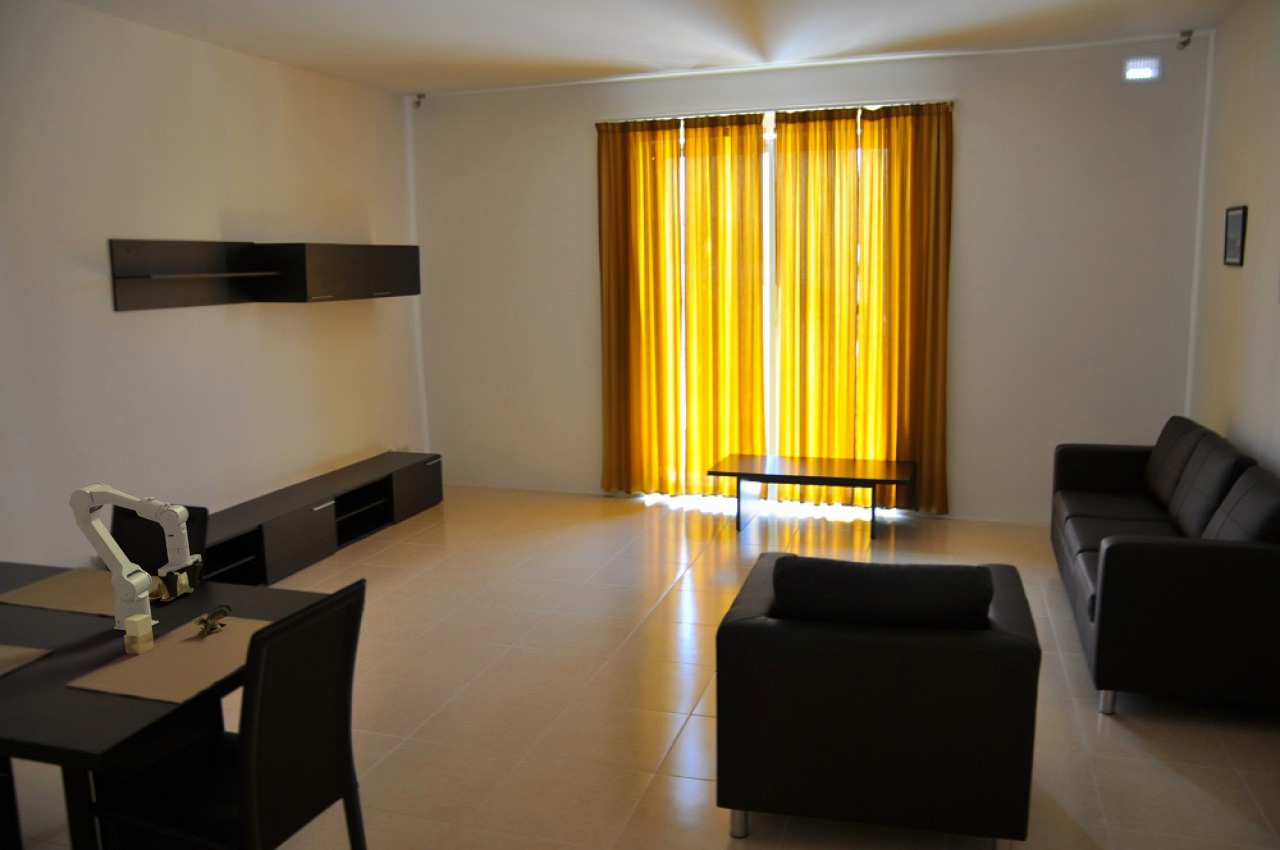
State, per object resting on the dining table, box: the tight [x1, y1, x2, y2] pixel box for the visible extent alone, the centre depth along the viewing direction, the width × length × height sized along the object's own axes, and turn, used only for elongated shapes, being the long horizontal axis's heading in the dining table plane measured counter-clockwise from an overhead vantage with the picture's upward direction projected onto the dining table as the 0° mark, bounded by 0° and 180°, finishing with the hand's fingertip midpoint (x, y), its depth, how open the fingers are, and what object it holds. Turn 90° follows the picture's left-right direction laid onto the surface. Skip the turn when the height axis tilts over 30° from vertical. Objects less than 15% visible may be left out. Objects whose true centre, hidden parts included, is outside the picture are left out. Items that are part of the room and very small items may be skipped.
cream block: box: [125, 614, 153, 637], centre depth 287 cm, size 4×4×4 cm
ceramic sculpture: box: [148, 571, 195, 602], centre depth 330 cm, size 11×9×15 cm
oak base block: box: [123, 630, 155, 655], centre depth 287 cm, size 5×5×5 cm
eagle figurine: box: [194, 604, 233, 636], centre depth 300 cm, size 8×8×10 cm
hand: (183, 592), depth 303 cm, fingers open, 7 cm apart
